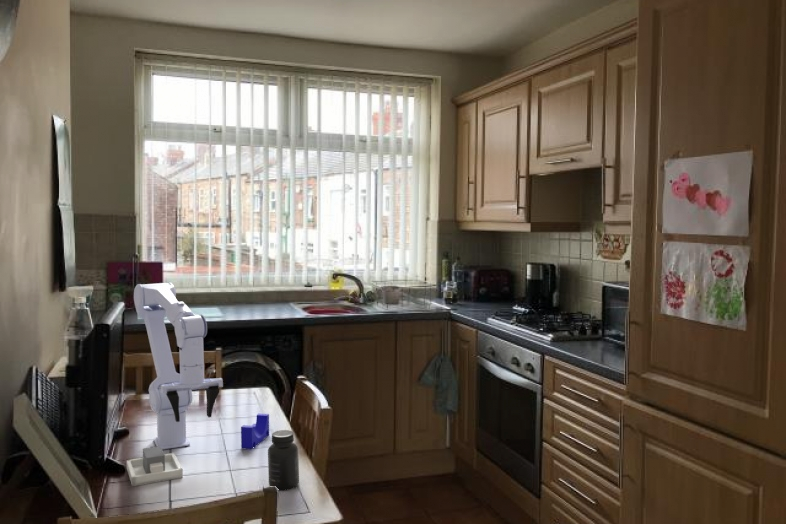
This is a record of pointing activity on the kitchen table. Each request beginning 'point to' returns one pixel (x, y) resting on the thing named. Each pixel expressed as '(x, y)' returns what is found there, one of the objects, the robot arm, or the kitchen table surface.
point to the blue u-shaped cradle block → (255, 432)
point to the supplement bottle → (283, 461)
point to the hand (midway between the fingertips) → (193, 418)
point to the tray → (140, 477)
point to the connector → (153, 460)
